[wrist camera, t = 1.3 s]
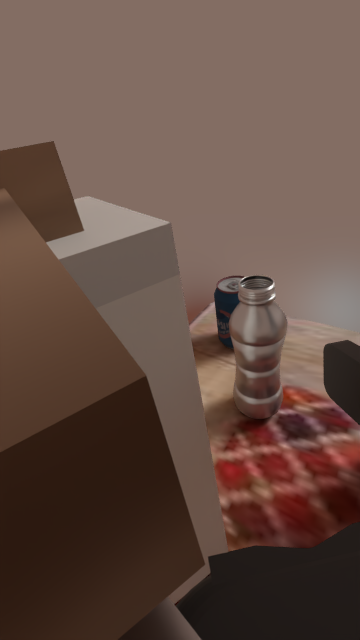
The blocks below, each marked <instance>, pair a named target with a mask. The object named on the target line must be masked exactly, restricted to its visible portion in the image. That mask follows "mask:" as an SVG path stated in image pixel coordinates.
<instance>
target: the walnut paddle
mask: <svg viewBox="0 0 360 640" xmlns="http://www.w3.org/2000/svg"><path fill="white" fill-rule="evenodd" d="M82 231H84V228H83V225H82V222H81V220H80V217H79V214H78V211H77V208H76V205H75V202H74V199H73V196H72V193H71V190H70V188H69V185H68V182H67V179H66V176H65V173H64V170H63V167H62V165H61V161H60V159H59V156H58V153H57V150H56V147H55V144H54V141H52V142H46V143H41V144H35V145H30V146H24V147H19V148H13V149H8V150H3V151H0V640H118V639H119V638H120V637H121V636H122V635H123V634H125V633H126V632H127V631H128V630H129V629H130V628H132V627H133V626H134V625H135V624H136V623H138V622H139V621H140V620H141V619H142V618H143V617H145V616H146V615H147V614H148V613H149V612H150V611H152V610H153V609H154V608H155V607H156V606H157V605H159V604H160V603H161V602H162V601H163V600H164V599H166V598H167V597H168V596H169V595H170V594H171V593H173V592H174V591H175V590H176V589H177V588H178V587H180V586H181V585H182V584H183V583H184V582H185V581H187V580H188V579H189V578H190V577H191V576H192V575H194V574H195V573H196V572H197V571H198V570H199V569H201V568H202V567H203V566H204V565H205V562H204V559H203V555H202V552H201V549H200V546H199V543H198V539H197V536H196V533H195V530H194V527H193V523H192V520H191V517H190V514H189V511H188V507H187V504H186V501H185V498H184V495H183V491H182V488H181V485H180V482H179V479H178V475H177V472H176V469H175V466H174V463H173V459H172V456H171V453H170V450H169V447H168V443H167V440H166V437H165V434H164V430H163V427H162V424H161V421H160V418H159V414H158V411H157V408H156V405H155V402H154V398H153V395H152V392H151V389H150V386H149V382H148V379H147V376H146V374H145V373H144V372H143V370H142V369H141V368H140V366H139V365H138V364H137V362H136V361H135V360H134V358H133V357H132V356H131V354H130V353H129V352H128V351H127V349H126V348H125V347H124V345H123V344H122V343H121V341H120V340H119V339H118V337H117V336H116V335H115V333H114V332H113V331H112V329H111V328H110V327H109V325H108V324H107V323H106V321H105V320H104V319H103V318H102V316H101V315H100V314H99V312H98V311H97V310H96V308H95V307H94V306H93V304H92V303H91V302H90V300H89V299H88V298H87V296H86V295H85V294H84V292H83V291H82V290H81V288H80V287H79V286H78V285H77V283H76V282H75V281H74V279H73V278H72V277H71V275H70V274H69V273H68V271H67V270H66V269H65V267H64V266H63V265H62V263H61V262H60V261H59V259H58V258H57V257H56V255H55V254H54V253H53V251H52V250H51V249H50V248H49V246H48V245H47V244H46V242H49V241H52V240H56V239H59V238H62V237H66V236H69V235H72V234H76V233H79V232H82Z"/></svg>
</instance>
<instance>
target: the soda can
mask: <svg viewBox="0 0 360 640" xmlns="http://www.w3.org/2000/svg"><path fill="white" fill-rule="evenodd" d="M242 278H244V276H229V277H226V278H223V279H221V280H220V281H219V282H218V283H217V288H216V290H215V293H214V298H215V308H216V317H217V327H218V336H219V339H220V341H221V342H222V343H223V344H224V345H225V346H226V347H228V348H231V349H234V347H233V343H232V339H231V335H230V330H229V320H230V317H231V314H232V313H233V311H234V309H235V308H236V306H237V305H238V304H239V303H240V301H239V299H238V293H239V287H238V284H239V281H240V280H241V279H242Z"/></svg>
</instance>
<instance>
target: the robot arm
mask: <svg viewBox="0 0 360 640" xmlns="http://www.w3.org/2000/svg"><path fill="white" fill-rule="evenodd" d="M323 353H324V386H325V389H326V392H327V394H328V395H329V397H330V398H331V399H332V400H333V401H334V402H335V403H336V404H337V405H339V406H340V407H341V408H342V409H343V410H344V411H345V412H346V413H347V414H348V415H349V416H350V417H351V418H352V419H354V420H355V421H356V422H357V423H358V424H359V425H360V346H358V345H356V344H355V343H353V342H351V341H349V340H345V341H340V342H335V343H330V344H326V345H325V347H324V352H323ZM208 561H209V566H210V572H211V575H210V576H208V577H207V578H205V579H204V580H202V581H201V582H199V583H198V584H197V585H196V586H194V587H193V588H192V589H191V590H190V591H189V592H188V593H187V594H186V595H185V596H184V597H183V598H182V599H181V600H180V601H179V603H178V604H177V605H176V606H175V605H174V604H173V602H172V601H171V600H170V598H169V597H167V598H166V599H164V600H163V601H162V602H161V603H160V604H159V605H157V606H156V607H155V608H154V609H153V610H152V611H150V612H149V613H148V614H147V615H146V616H145V617H143V618H142V619H141V620H140V621H139V622H138V623H136V624H135V625H134V626H133V627H132V628H130V629H129V630H128V631H127V632H126V633H125V634H123V635H122V636H121V637H120V638H119V639H118V640H360V522H357V523H353V524H351V525H350V526H348V527H346V528H345V529H343V530H341V531H340V532H338V533H337V534H335V535H333V536H332V537H330V538H328V539H327V540H325V541H323V542H322V543H320V544H319V545H317V546H315V547H313V548H289V547H271V546H252V547H248V548H243V549H239V550H235V551H230V552H226V553H221V554H217V555H213V556H208Z"/></svg>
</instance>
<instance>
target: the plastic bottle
mask: <svg viewBox="0 0 360 640" xmlns="http://www.w3.org/2000/svg"><path fill="white" fill-rule="evenodd" d="M238 287H239V293H238V299H239V301H240V303H239V304H238V305H237V306H236V308H235V309H234V311H233V313H232V314H231V317H230V320H229V330H230V335H231V339H232V343H233V347H234V352H235V360H236V376H235V383H234V388H233V398H234V401H235V404H236V406H237V408H238V409H239V410H240V411H241V412H242V413H243V414H245V415H246V416H248V417H251V418H254V419H265V418H268V417H270V416H272V415H274V414H275V413H277V412H278V410H279V409H280V406H281V403H282V400H283V390H282V386H281V382H280V360H281V352H282V347H283V344H284V340H285V336H286V332H287V327H288V322H287V319H286V316H285V313H284V312H283V310H282V309H281V308H280V307H279V305H278V304H277V303H276V302H275V301H274V300H275V298H276V292H275V282H274V279H273V278H271V277H269V276H266V275H251V276H247V277H244V278H242V279H241V280H240V281H239V284H238Z"/></svg>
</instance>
